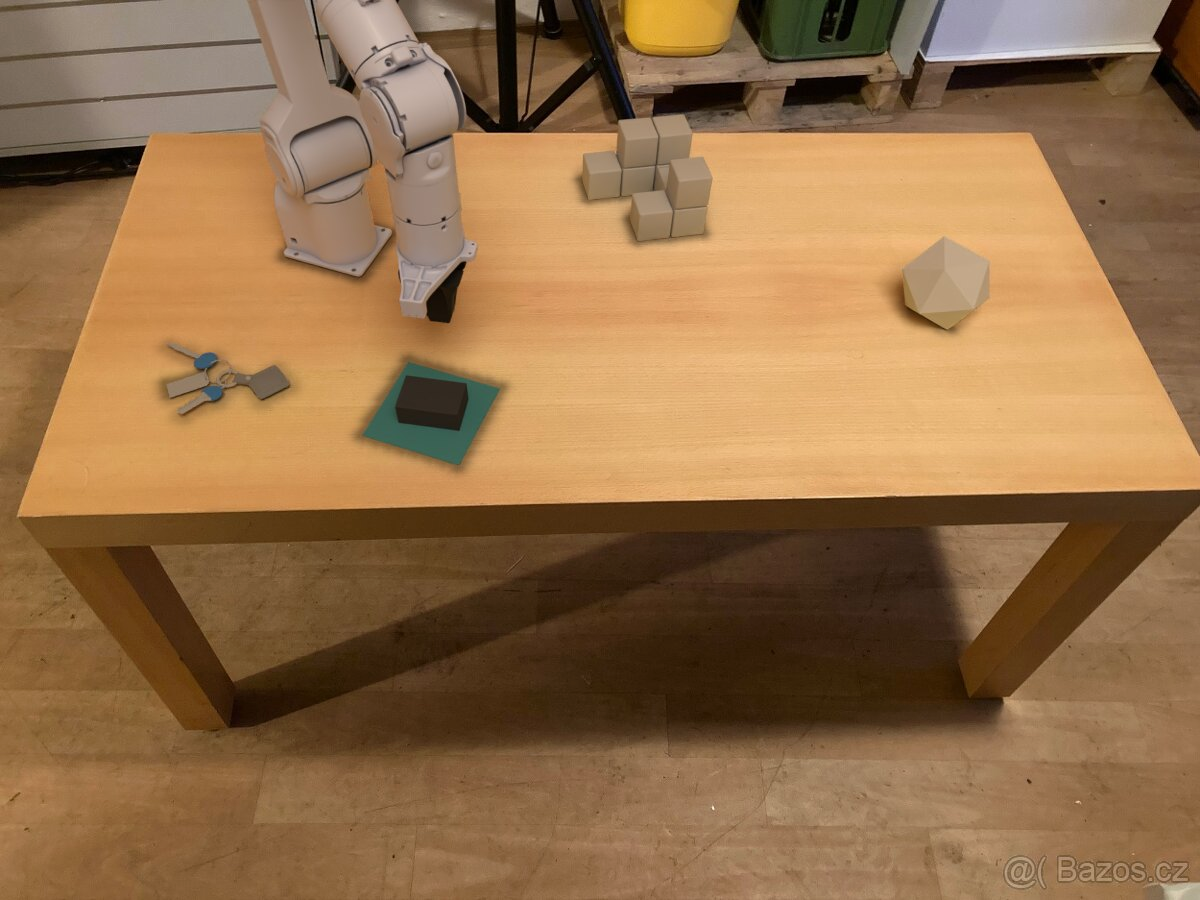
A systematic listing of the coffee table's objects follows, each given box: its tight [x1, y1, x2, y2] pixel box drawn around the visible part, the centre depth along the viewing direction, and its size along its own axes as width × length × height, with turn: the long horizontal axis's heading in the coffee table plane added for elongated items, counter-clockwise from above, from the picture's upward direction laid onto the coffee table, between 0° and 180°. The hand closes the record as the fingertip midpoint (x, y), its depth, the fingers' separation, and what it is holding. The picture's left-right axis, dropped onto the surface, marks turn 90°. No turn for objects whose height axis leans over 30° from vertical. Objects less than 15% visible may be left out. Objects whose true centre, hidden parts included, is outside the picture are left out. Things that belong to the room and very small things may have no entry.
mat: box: [362, 361, 501, 466], centre depth 89 cm, size 10×10×1 cm
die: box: [901, 235, 991, 331], centre depth 97 cm, size 8×9×10 cm
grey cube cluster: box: [581, 113, 713, 242], centre depth 105 cm, size 12×12×8 cm
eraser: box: [395, 375, 469, 431], centre depth 88 cm, size 6×4×2 cm, turn 82°
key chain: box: [165, 341, 291, 415], centre depth 89 cm, size 14×8×1 cm, turn 76°
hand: (441, 317), depth 88 cm, fingers closed
